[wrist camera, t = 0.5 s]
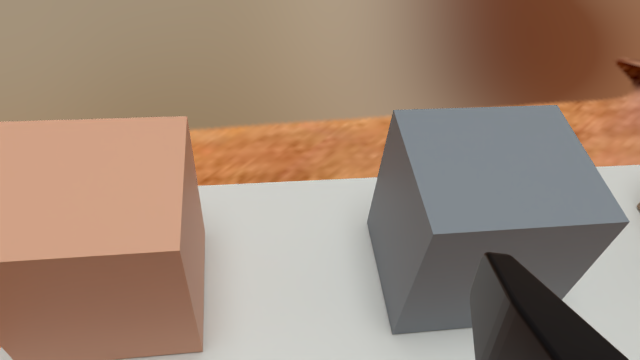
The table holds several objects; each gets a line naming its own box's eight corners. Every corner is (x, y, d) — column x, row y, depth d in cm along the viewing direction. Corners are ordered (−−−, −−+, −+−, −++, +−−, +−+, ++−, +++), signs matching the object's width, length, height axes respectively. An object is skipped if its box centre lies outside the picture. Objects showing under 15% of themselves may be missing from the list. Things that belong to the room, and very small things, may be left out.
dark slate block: (543, 320, 24) (629, 221, 18) (392, 334, 23) (433, 234, 17) (497, 214, 28) (557, 105, 22) (367, 221, 27) (393, 109, 21)
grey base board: (714, 176, 33) (730, 160, 32) (884, 387, 25) (914, 375, 23) (52, 211, 28) (43, 193, 26) (-20, 495, 19) (-38, 486, 18)
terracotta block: (202, 351, 22) (179, 250, 16) (20, 367, 21) (-73, 266, 15) (205, 231, 25) (187, 116, 20) (51, 240, 25) (-14, 122, 19)
